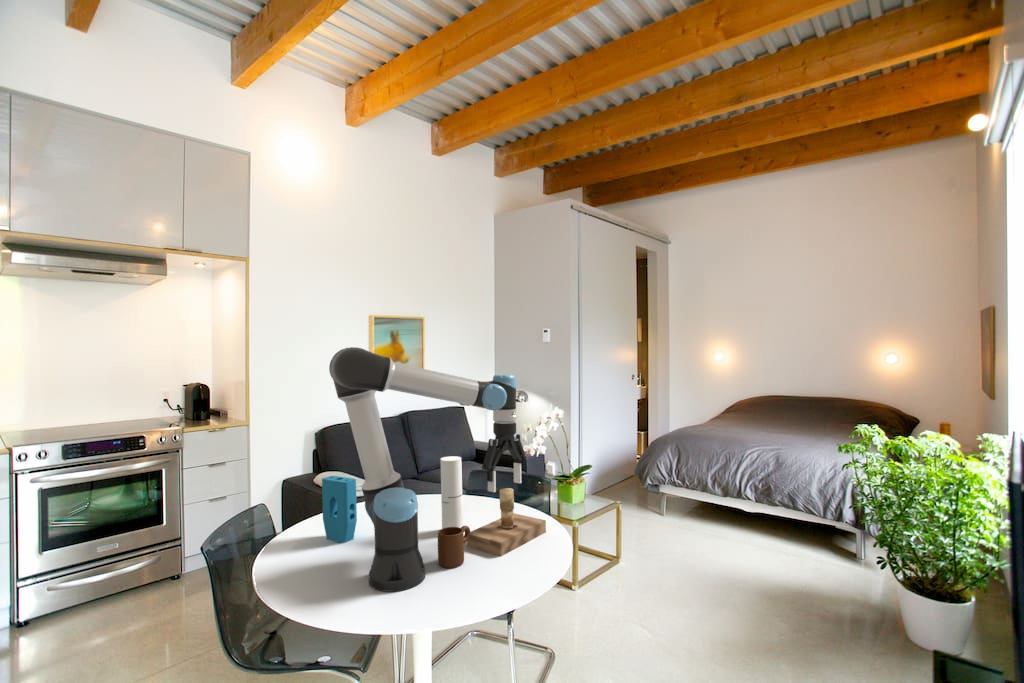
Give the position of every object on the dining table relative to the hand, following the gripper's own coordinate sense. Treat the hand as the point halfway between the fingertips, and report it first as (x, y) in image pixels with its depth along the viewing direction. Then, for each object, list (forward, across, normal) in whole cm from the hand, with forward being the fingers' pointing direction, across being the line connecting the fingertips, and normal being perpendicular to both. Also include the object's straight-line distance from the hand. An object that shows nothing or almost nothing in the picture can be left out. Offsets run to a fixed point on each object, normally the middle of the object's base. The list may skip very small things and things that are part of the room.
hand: (505, 487), depth 169 cm
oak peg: (+17, +1, 0) cm, 17 cm away
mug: (+18, -21, +2) cm, 28 cm away
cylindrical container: (+18, -4, +20) cm, 27 cm away
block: (+18, -30, +47) cm, 59 cm away
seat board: (+17, +1, 0) cm, 17 cm away
